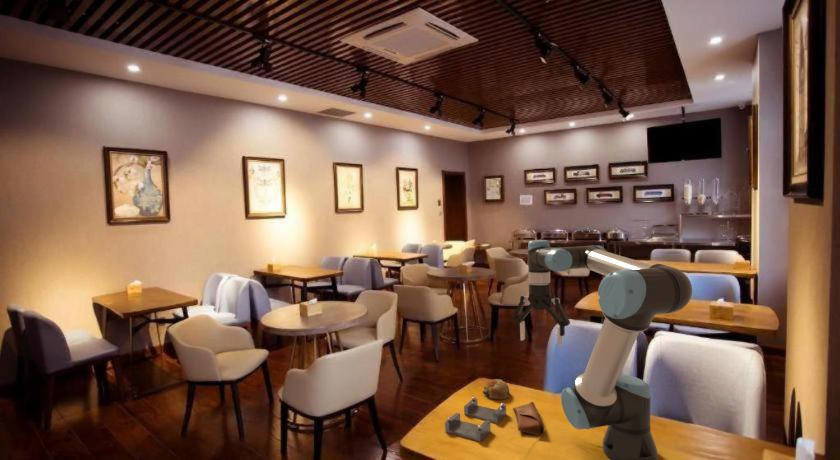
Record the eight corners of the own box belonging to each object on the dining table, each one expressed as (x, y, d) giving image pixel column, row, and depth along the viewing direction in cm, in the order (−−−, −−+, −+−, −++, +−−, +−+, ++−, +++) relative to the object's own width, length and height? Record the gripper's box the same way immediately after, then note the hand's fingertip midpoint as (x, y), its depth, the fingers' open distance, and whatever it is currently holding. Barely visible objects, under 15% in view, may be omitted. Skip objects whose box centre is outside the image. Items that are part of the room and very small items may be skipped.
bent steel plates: (506, 414, 161) (505, 402, 161) (480, 441, 142) (479, 428, 142) (474, 407, 168) (473, 395, 168) (445, 432, 149) (444, 419, 149)
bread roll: (504, 410, 171) (513, 392, 170) (480, 396, 173) (489, 379, 172) (504, 399, 181) (513, 383, 180) (481, 387, 182) (490, 370, 181)
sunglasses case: (511, 406, 163) (522, 393, 163) (526, 418, 163) (537, 404, 163) (517, 430, 146) (530, 415, 145) (535, 443, 145) (547, 428, 145)
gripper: (578, 283, 154) (579, 343, 155) (510, 279, 168) (511, 335, 168) (572, 287, 148) (573, 349, 149) (502, 282, 161) (504, 340, 162)
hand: (540, 342), depth 158 cm, fingers open, 13 cm apart
